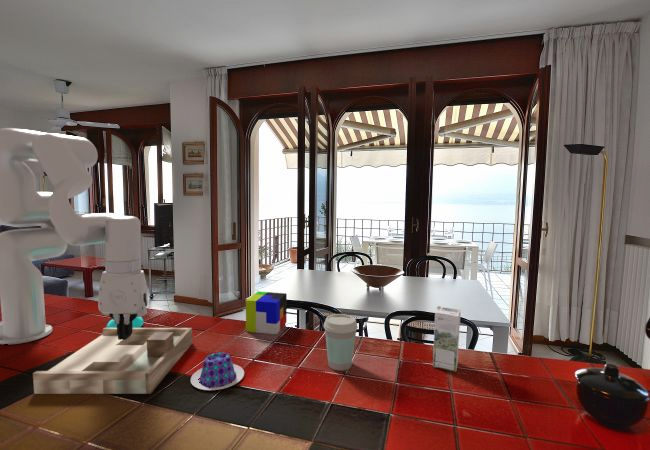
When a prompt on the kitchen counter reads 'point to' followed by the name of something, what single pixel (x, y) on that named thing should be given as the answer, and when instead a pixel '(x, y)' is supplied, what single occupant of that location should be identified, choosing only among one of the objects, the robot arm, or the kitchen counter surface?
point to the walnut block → (159, 344)
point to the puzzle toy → (266, 312)
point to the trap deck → (113, 365)
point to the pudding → (217, 372)
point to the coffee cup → (340, 340)
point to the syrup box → (446, 338)
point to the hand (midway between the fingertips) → (124, 337)
